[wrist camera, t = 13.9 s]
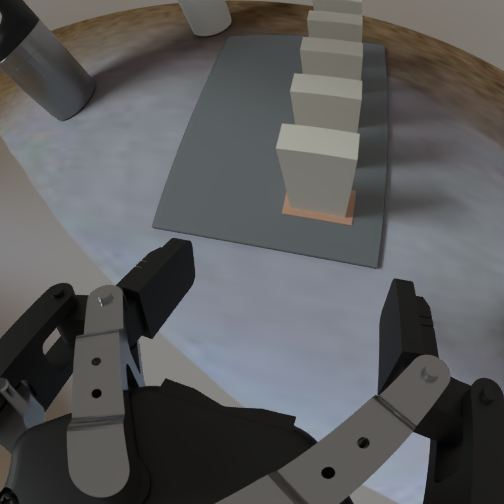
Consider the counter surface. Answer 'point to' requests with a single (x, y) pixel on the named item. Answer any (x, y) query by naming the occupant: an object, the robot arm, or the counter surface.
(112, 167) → the counter surface
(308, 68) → the domino
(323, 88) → the domino
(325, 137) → the domino
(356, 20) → the domino
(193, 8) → the can
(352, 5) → the domino
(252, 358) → the counter surface
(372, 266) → the slate mat
